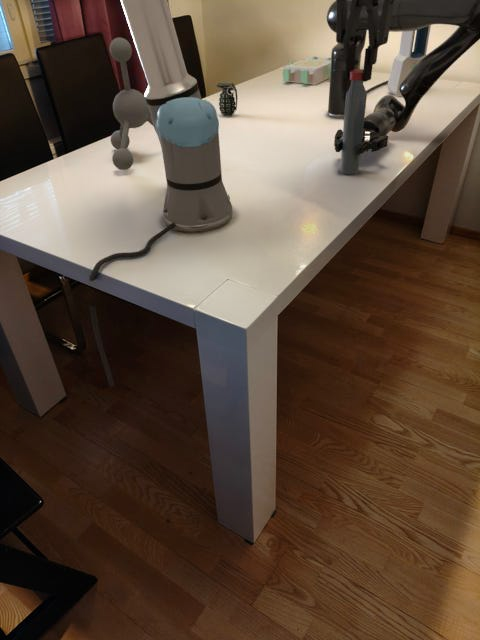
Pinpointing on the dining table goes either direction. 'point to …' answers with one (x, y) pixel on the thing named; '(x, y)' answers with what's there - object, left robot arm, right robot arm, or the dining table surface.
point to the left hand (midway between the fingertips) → (357, 79)
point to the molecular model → (126, 107)
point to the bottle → (353, 127)
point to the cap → (356, 74)
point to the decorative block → (308, 71)
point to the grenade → (227, 99)
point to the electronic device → (408, 57)
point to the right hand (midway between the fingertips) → (347, 149)
